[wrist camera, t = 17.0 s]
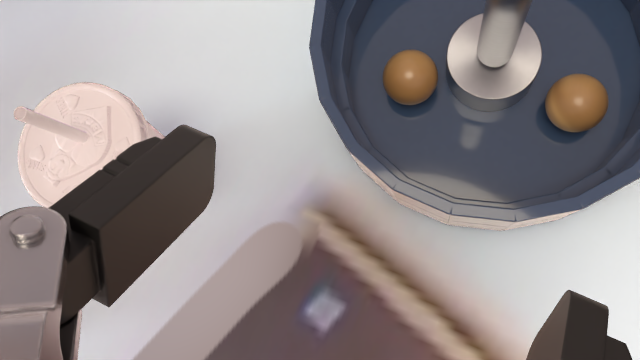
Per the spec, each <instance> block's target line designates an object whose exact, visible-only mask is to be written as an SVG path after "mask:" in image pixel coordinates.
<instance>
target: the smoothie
mask: <svg viewBox="0 0 640 360" xmlns="http://www.w3.org/2000/svg"><path fill="white" fill-rule="evenodd" d="M14 117H15V119H16V120H19V121H22V122H25V125H24V128H23V130H22V133H21V136H20V141H19V146H18V167H19V172H20V176H21V179H22V181H23V184H24V186H25V188H26V189H27V191H28V193H29V194H30V195H31V196H32V198H33V199H34V200H35V201H36V202H37V203H39V204H40V205H41V206H43V207H46V208H49V207H50V206H52V205H53V204H55V203H56V202H57V201H58V200H60V199H61V198H62V197H64V196H65V195H66V194H68V193H69V192H70V191H72V190H73V189H74V188H76V187H77V186H78V185H80V184H81V183H82V182H84V181H85V180H86V179H88V178H89V177H90V176H92V175H93V174H94V173H96V172H97V171H98V170H102V169H103V167H104V166H105V165H106V164H108V163H109V162H110V161H112V160H113V159H114V160H115V159H116V157H117V156H118V155H119V154H121V153H122V152H123V151H125V150H126V149H127V148H129V147H130V146H131V145H133V144H135V143H138V142H141V141H144V140H146V139H149V138H152V137H155V136H156V137H158V138H160V139H163V138H165V137H164V136H163V135H162V134H161V133H160V132H159V131H157V130H156V129H155V128H154V127H153V126H152V125H151V124H149V123H148V122H147V121H146V120H145V118H144V116H143V114H142V112H141V110H140V109H139V108H138V107H137V106H136V105H135V103H134V102H133V101H132V100H131V99H130V98H128V97H127V96H125V95H123V94H122V93H120V92H118V91H117V90H113V89H111V88H109V87H107V86H104V85H101V84H97V83H89V82H83V83H75V84H71V85H68V86H65V87H62V88H60V89H58V90H56V91H54V92H53V93H51V94H50V95H48V96H47V97H46V98H45V99H43V100H42V101H41V102H40V103H39V104H38V105H37V107H36V108H35V109H34V110H33V111H32V110H30V109H27V108H25V107H22V106H20V107H17V108H16V109H15V111H14Z"/></svg>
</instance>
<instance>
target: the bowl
mask: <svg viewBox="0 0 640 360" xmlns="http://www.w3.org/2000/svg"><path fill="white" fill-rule="evenodd" d="M485 4H486V0H315V7H314V14H313V22H312V29H311V37H310V44H309V46H310V47H309V49H310V54H311V59H312V65H313V70H314V75H315V80H316V85H317V91H318V96H319V100H320V103H321V104H322V106H323V108H324V110H325V111H326V113H327V115H328V117H329V118H330V120H331V122H332V124H333V125H334V127H335V129H336V131H337V132H338V134H339V136H340V138H341V139H342V141H343V143H344V145H345V146H346V148H347V150H348V151H349V153H350V154H351V155H352V157H353V158H354V160H355V161H356V162H357V164H358V165H359V167H360V168H361V169H362V171H363V172H364V173H366V174H367V175H368V176H369V177H370V178H371V179H372V180H373V181H374V182H376V183H377V184H378V185H379V186H380V187H381V188H382V189H383V190H385V191H386V192H387V193H388V194H389V195H390V196H391V197H392V198H393V199H395V200H396V201H397V202H398V203H400V204H401V205H403V206H406V207H408V208H410V209H412V210H415V211H417V212H419V213H422V214H424V215H426V216H428V217H431V218H433V219H435V220H437V221H440V222H442V223H444V224H448V225H453V226H461V227H470V228H479V229H488V230H497V231H501V230H503V231H504V230H509V229H515V228H520V227H525V226H530V225H535V224H540V223H545V222H551V221H555V220H558V219H561V218H563V217H565V216H568V215H570V214H572V213H575V212H577V211H579V210H582V209H584V208H586V207H588V206H590V205H591V204H593V203H595V202H597V201H599V200H601V199H602V198H604V197H606V196H608V195H610V194H612V193H613V192H615V191H617V190H619V189H621V188H623V187H624V186H626V185H628V184H630V183H632V182H634V181H635V180H637V179H639V178H640V0H532V3H531V6H530V8H529V11H528V14H527V17H526V19H525V22H527V23H528V24H529V25H530V26H531V27H532V28H533V30H534V31H535V32H536V34H537V36H538V38H539V40H540V43H541V48H542V62H541V66H540V69H539V71H538V74H537V76H536V77H535V79H534V81H533V83H532V85H531V87H530V89H529V90H528V92H527V93H526V95H525V96H524V97H523V98H522V99H521V100H520V101H519V102H517V103H516V104H514V105H513V106H511V107H508V108H506V109H503V110H500V111H492V112H486V111H479V110H475V109H472V108H470V107H468V106H466V105H464V104H463V103H461V102H460V101H459V100H458V99H457V98H456V97H455V96H454V95H453V93H452V92H451V90H450V88H449V86H448V83H447V79H446V55H447V48H448V44H449V42H450V39H451V37H452V36H453V34H454V32H455V31H456V30H457V28H458V27H459V26H460V25H461V24H463V23H464V22H465V21H467V20H468V19H470V18H472V17H474V16H476V15H479V14H482V13H484V9H485ZM404 50H418V51H421V52H423V53H425V54H427V55H428V56H429V57H430V58H431V59H432V60H433V62H434V63H435V65H436V68H437V71H438V82H437V86H436V88H435V90H434V92H433V93H432V95H431V96H430V97H429V98H428V99H427V100H425V101H423V102H421V103H419V104H416V105H403V104H400V103H398V102H396V101H394V100H393V99H392V98H391V97H390V96H389V95H388V94H387V92H386V91H385V88H384V85H383V71H384V68H385V66H386V64H387V62H388V61H389V60H390V58H391V57H393V56H394V55H395V54H397V53H399V52H401V51H404ZM571 74H586V75H589V76H592V77H594V78H596V79H597V80H598V81H600V82H601V83H602V85H603V86H604V87H605V89H606V91H607V94H608V101H609V103H608V109H607V112H606V114H605V116H604V118H603V119H602V120H601V121H600V122H599V123H598V124H597V125H596V126H595V127H593V128H591V129H589V130H587V131H583V132H567V131H564V130H561V129H560V128H558V127H556V126H555V125H554V124H553V123H552V122H551V121H550V119H549V118H548V116H547V113H546V110H545V99H546V96H547V93H548V91H549V89H550V88H551V87H552V85H553V84H554V83H555V82H557V81H558V80H559V79H561V78H563V77H565V76H567V75H571Z"/></svg>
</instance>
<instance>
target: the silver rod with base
mask: <svg viewBox="0 0 640 360" xmlns="http://www.w3.org/2000/svg"><path fill="white" fill-rule="evenodd" d="M531 3H532V0H486V4H485V9H484V13H482V14H479V15H476V16H474V17H472V18H470V19H468V20H467V21H465V22H464V23H463V24H461V25H460V26H459V27H458V28H457V30H456V31H455V32H454V34H453V36H452V37H451V39H450V42H449V44H448V48H447V55H446V79H447V83H448V86H449V88H450V90H451V92H452V93H453V95H454V96H455V97H456V98H457V99H458V100H459V101H460V102H461V103H463V104H464V105H466V106H468V107H470V108H472V109H475V110H479V111H486V112H492V111H500V110H503V109H506V108H508V107H511V106H513V105H514V104H516V103H517V102H519V101H520V100H521V99H522V98H523V97H524V96H525V95H526V93H527V92H528V90H529V89H530V87H531V85H532V83H533V81H534V79H535V77H536V76H537V74H538V71H539V69H540V66H541V62H542V48H541V43H540V40H539V38H538V36H537V34H536V32H535V31H534V30H533V28H532V27H531V26H530V25H529V24H528V23H527V22H525V19H526V17H527V14H528V11H529V8H530V6H531Z"/></svg>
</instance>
